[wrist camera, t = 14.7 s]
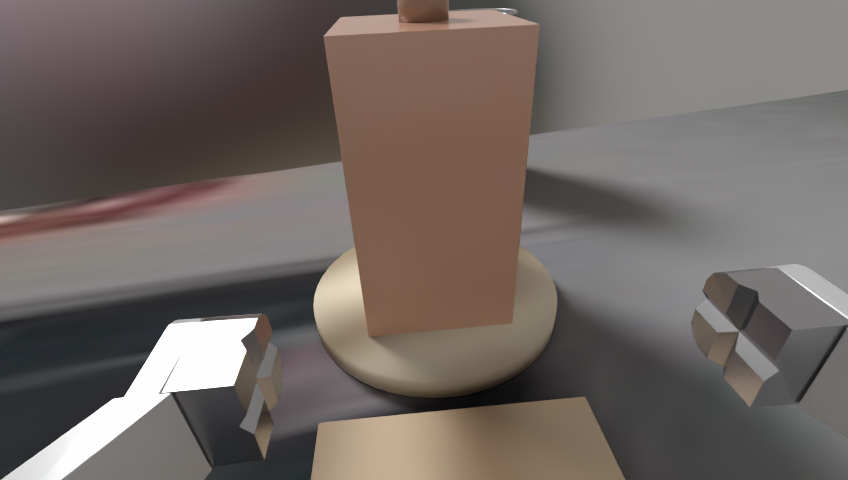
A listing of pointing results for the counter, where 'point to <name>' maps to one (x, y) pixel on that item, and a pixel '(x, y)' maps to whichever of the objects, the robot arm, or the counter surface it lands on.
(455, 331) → the birch board
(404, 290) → the tan drink carton
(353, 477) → the cork mat
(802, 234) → the counter surface
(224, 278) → the counter surface
